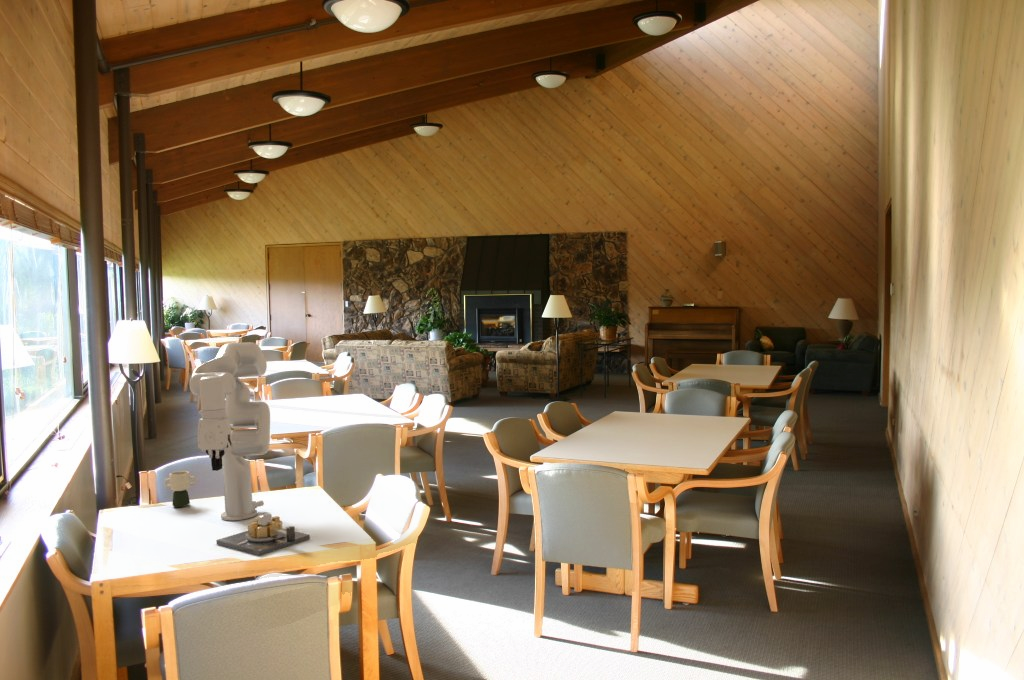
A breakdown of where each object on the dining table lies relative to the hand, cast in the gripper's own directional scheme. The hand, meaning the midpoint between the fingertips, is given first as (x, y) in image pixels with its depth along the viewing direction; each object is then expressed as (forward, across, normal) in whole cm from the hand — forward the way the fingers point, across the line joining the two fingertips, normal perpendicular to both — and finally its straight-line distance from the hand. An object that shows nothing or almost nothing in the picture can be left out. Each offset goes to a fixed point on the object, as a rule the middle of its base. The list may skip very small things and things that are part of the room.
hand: (217, 469), depth 280 cm
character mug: (+26, -43, +38) cm, 63 cm away
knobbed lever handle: (+21, +19, +1) cm, 29 cm away
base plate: (+24, +14, +2) cm, 28 cm away
